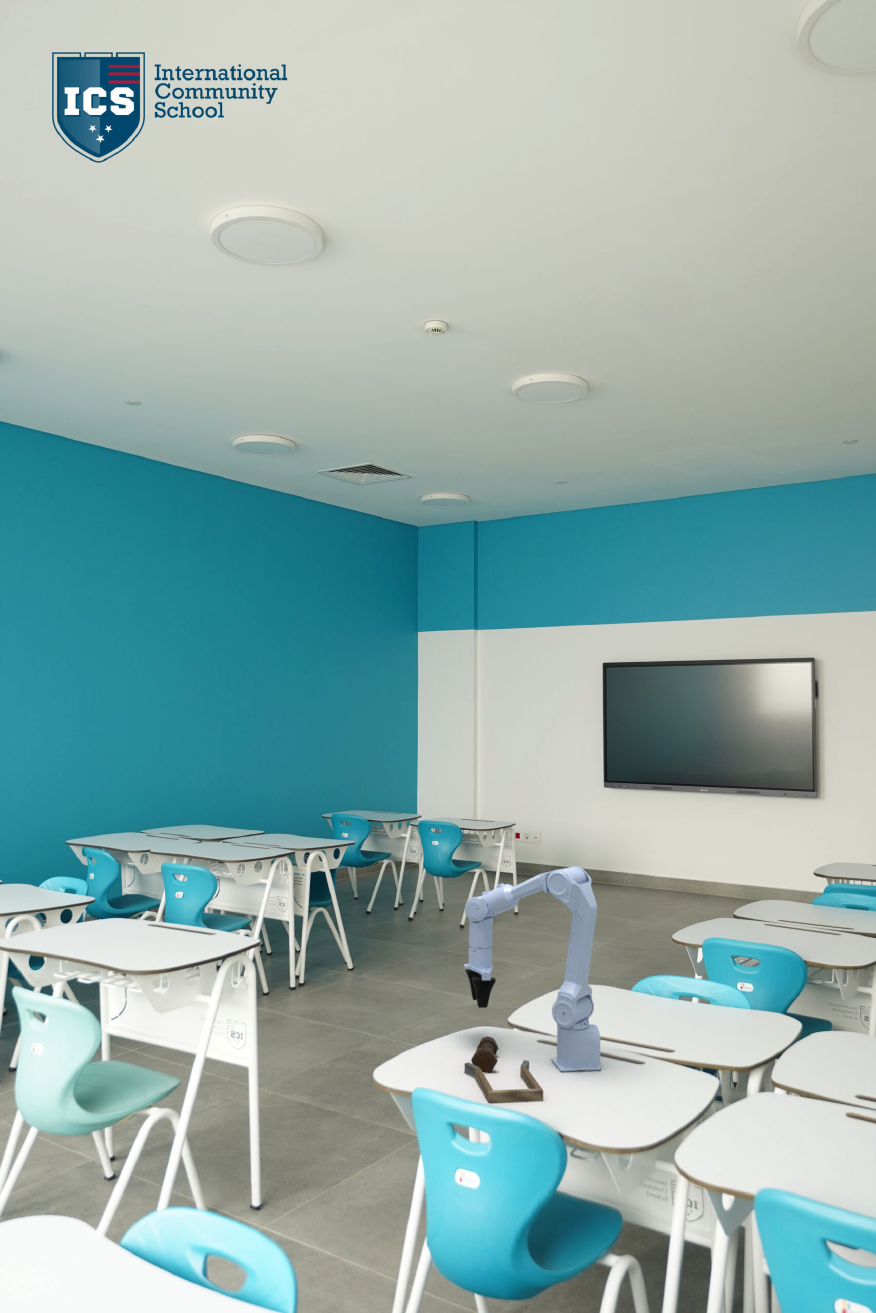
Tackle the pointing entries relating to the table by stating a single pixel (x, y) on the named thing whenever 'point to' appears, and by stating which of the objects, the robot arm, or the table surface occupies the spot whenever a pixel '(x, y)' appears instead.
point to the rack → (507, 1095)
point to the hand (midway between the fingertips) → (479, 1003)
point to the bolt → (486, 1054)
